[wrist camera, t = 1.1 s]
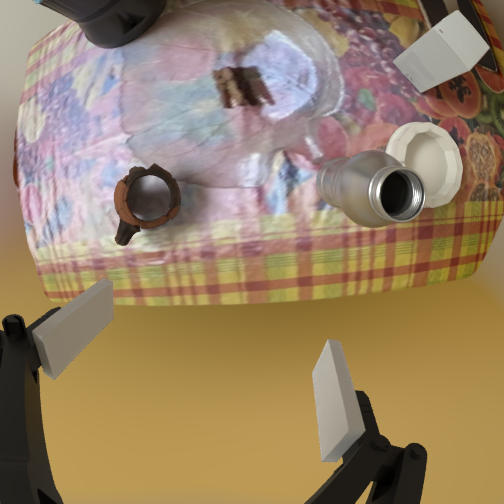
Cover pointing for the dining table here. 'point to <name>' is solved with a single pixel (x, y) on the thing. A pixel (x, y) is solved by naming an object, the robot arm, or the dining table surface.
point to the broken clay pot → (127, 218)
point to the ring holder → (429, 159)
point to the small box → (442, 53)
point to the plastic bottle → (372, 188)
